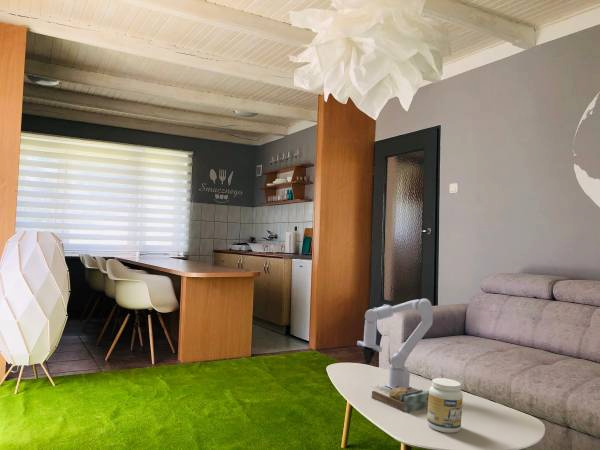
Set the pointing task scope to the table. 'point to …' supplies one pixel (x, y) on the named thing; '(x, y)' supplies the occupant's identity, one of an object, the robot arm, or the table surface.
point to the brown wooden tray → (409, 403)
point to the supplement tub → (445, 405)
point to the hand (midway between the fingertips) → (368, 363)
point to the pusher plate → (409, 394)
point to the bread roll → (398, 392)
